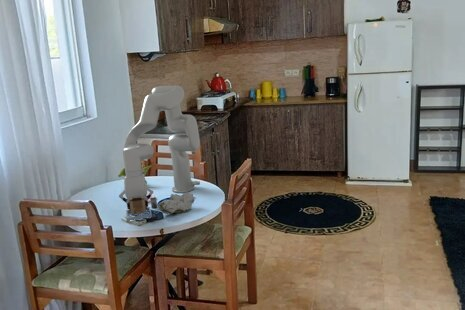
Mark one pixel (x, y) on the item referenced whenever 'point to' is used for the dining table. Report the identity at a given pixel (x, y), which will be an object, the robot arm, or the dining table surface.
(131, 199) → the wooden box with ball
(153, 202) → the grey rounded cylinder
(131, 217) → the tray
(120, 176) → the toy
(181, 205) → the rock
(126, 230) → the dining table surface
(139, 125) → the robot arm
